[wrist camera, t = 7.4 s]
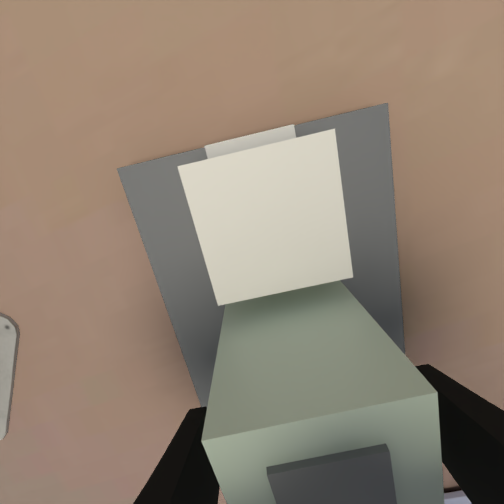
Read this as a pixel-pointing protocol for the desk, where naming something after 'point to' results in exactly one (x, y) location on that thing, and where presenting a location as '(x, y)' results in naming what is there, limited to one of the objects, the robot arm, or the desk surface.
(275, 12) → the desk surface
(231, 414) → the block
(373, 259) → the rail board
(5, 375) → the emergency button
